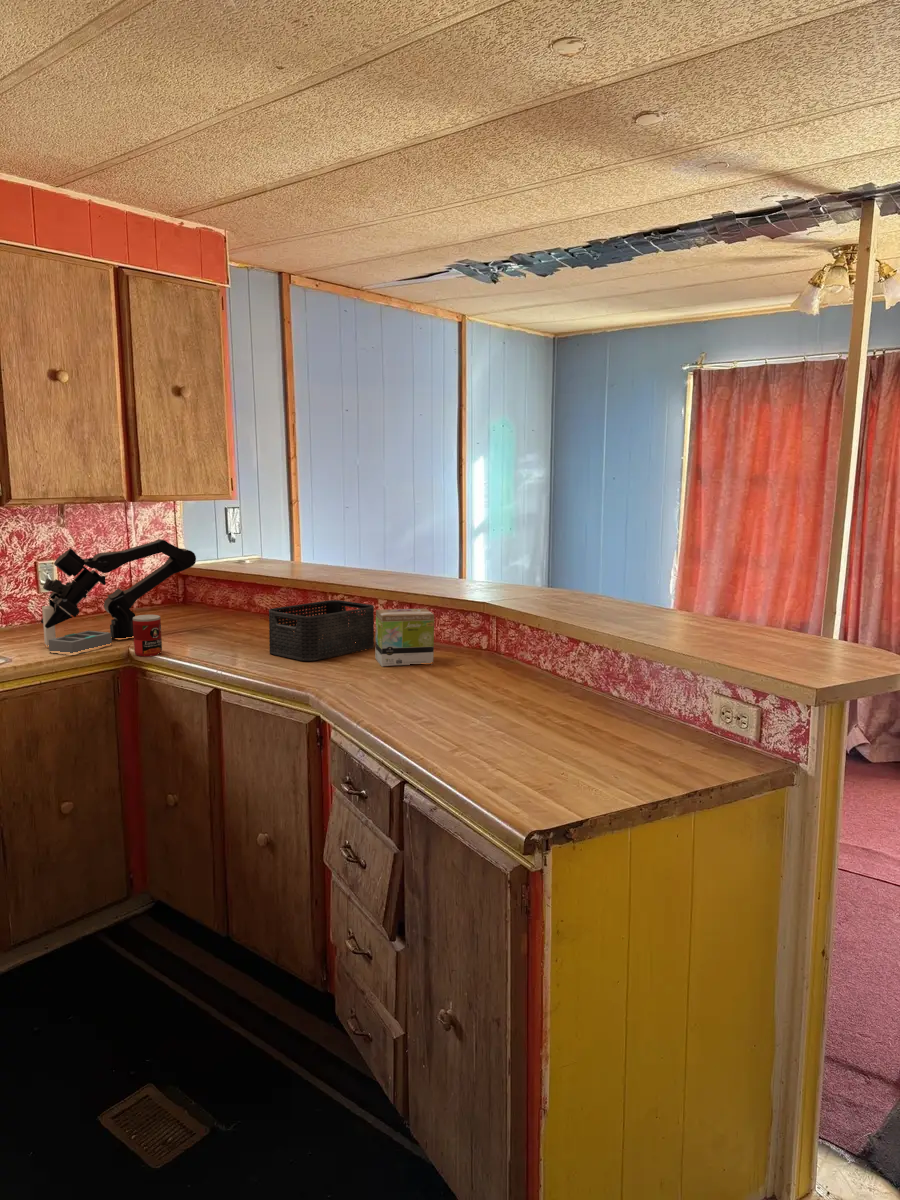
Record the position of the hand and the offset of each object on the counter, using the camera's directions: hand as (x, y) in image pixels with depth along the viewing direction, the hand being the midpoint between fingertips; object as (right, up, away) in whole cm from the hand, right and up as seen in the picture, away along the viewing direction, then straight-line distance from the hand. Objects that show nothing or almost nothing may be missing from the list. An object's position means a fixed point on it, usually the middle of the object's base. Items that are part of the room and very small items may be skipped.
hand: (43, 625), depth 252 cm
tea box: (+110, -10, -15) cm, 111 cm away
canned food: (+34, -8, -7) cm, 36 cm away
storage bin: (+85, -8, -1) cm, 85 cm away
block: (+1, -6, +2) cm, 7 cm away
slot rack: (+12, -7, -2) cm, 15 cm away
